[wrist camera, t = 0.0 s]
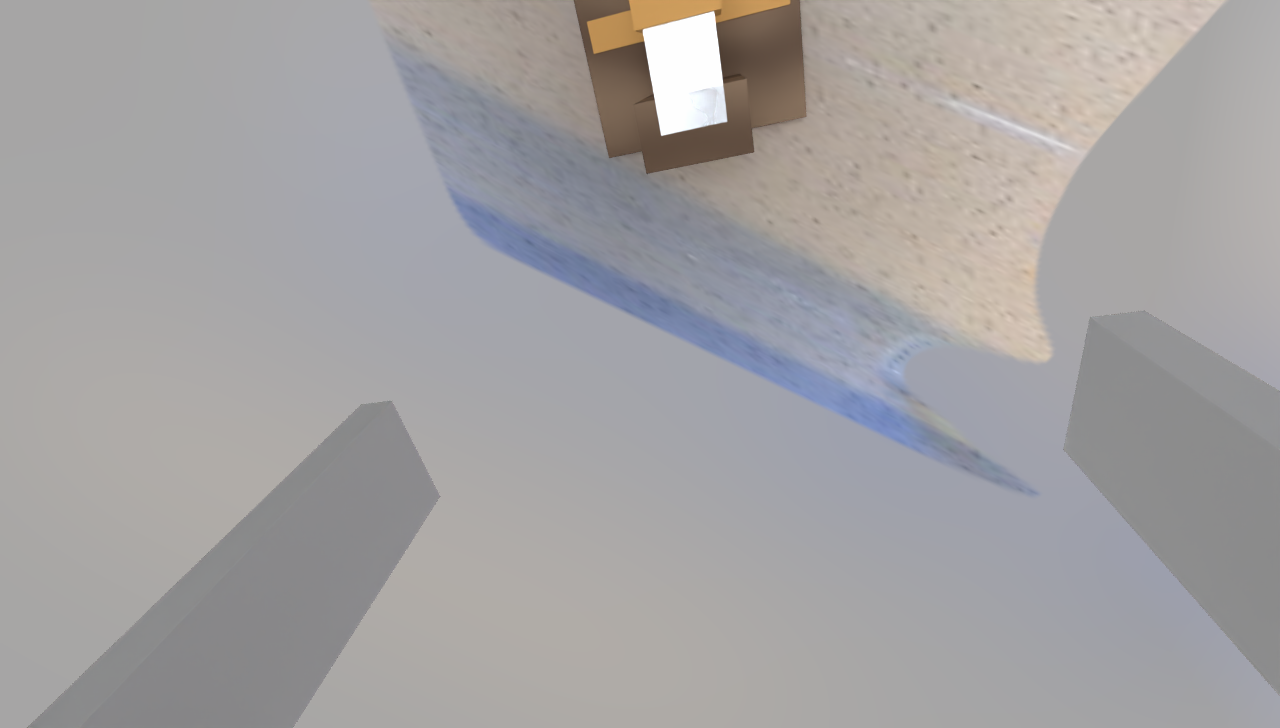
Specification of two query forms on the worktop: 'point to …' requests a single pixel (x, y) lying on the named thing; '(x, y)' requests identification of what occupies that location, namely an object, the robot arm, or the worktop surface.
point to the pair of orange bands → (665, 18)
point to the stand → (753, 88)
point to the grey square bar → (685, 72)
